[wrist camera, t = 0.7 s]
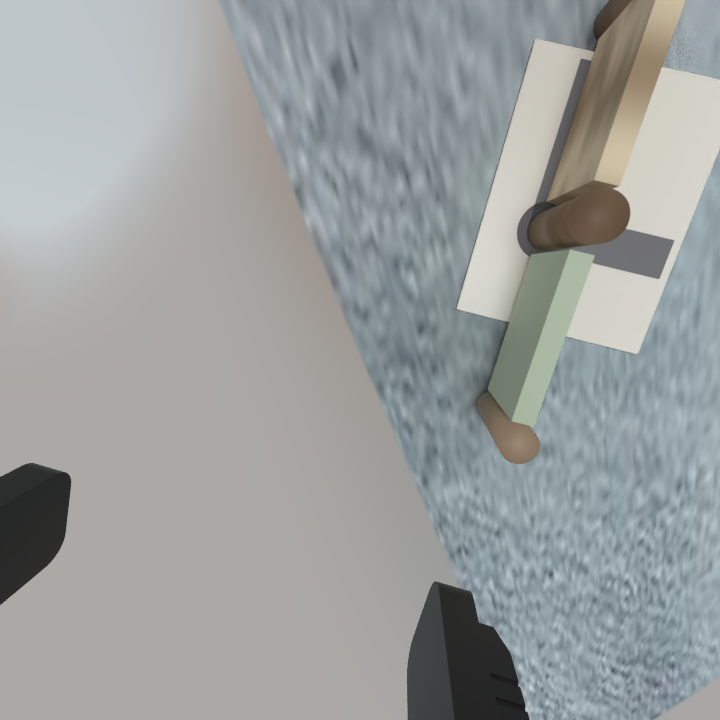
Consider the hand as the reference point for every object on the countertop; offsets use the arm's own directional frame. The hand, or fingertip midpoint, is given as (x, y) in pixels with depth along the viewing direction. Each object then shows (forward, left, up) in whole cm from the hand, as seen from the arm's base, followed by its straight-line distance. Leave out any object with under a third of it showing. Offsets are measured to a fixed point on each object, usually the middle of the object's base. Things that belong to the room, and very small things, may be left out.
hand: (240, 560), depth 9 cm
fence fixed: (-17, +10, -21) cm, 29 cm away
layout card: (-13, +12, -21) cm, 28 cm away
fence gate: (-4, +10, -20) cm, 23 cm away
